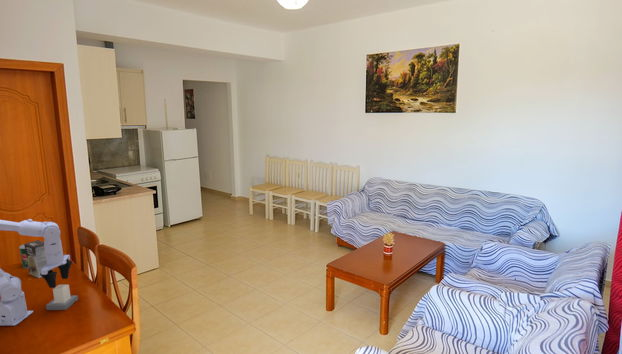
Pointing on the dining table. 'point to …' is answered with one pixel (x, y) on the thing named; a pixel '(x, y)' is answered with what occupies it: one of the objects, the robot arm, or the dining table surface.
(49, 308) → the gray base
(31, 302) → the dining table surface
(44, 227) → the robot arm
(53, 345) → the dining table surface
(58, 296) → the cream block
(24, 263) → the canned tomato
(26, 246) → the coffee box
